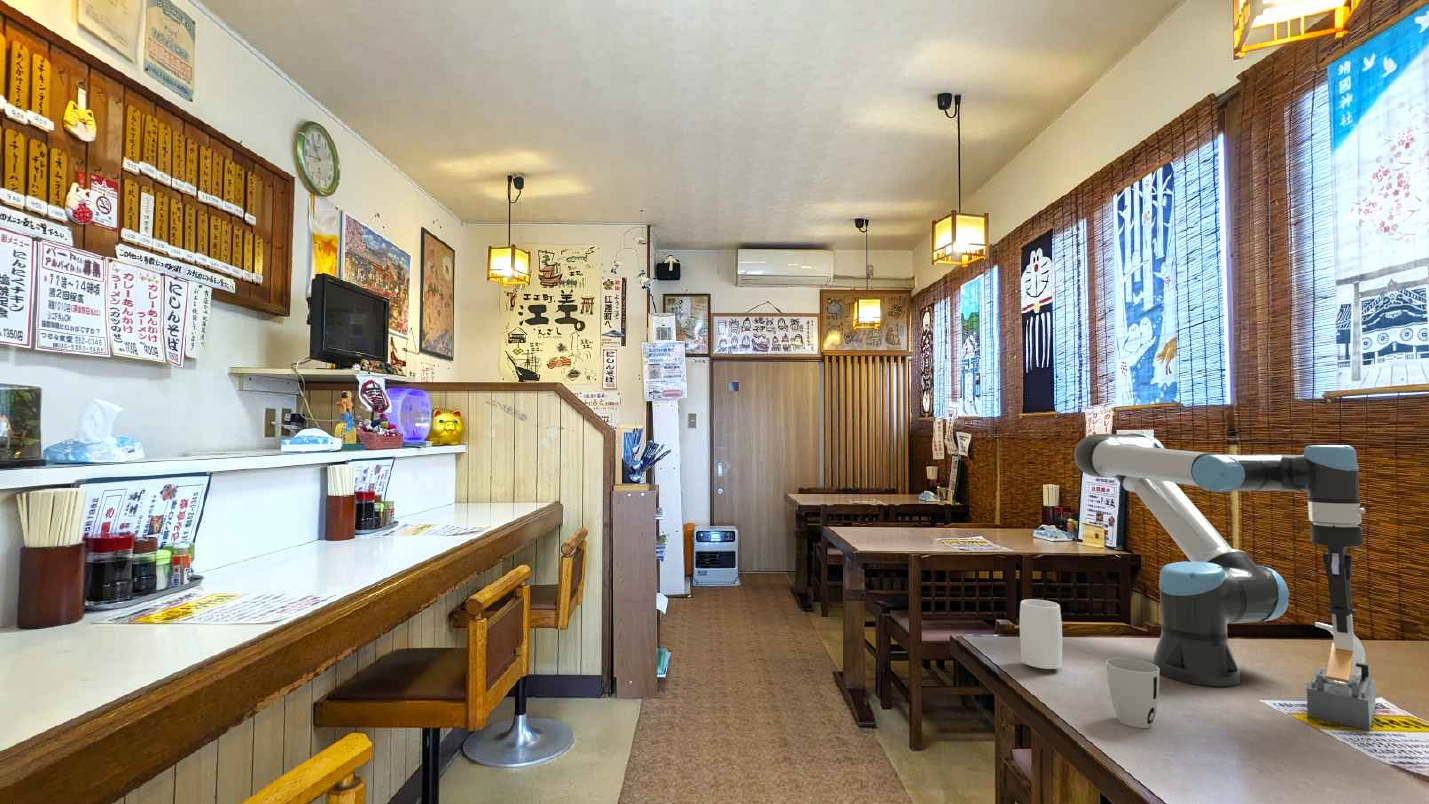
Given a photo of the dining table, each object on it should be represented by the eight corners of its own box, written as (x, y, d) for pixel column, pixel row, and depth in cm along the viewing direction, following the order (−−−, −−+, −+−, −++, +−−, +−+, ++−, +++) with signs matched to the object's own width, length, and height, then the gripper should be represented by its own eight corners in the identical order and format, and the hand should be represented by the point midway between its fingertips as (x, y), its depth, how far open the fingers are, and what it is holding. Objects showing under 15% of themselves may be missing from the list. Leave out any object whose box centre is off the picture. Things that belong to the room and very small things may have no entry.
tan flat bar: (1349, 685, 119) (1348, 680, 119) (1326, 680, 121) (1326, 675, 121) (1354, 651, 127) (1353, 646, 127) (1332, 647, 130) (1332, 642, 129)
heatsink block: (1369, 730, 114) (1367, 685, 115) (1308, 716, 120) (1305, 673, 121) (1375, 706, 125) (1373, 665, 126) (1318, 694, 131) (1316, 655, 132)
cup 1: (1053, 678, 140) (1051, 610, 141) (1014, 667, 146) (1012, 602, 147) (1069, 669, 145) (1067, 603, 146) (1030, 659, 152) (1029, 597, 153)
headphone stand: (1317, 680, 139) (1314, 622, 140) (1344, 679, 139) (1340, 621, 140) (1340, 688, 134) (1337, 628, 135) (1367, 687, 135) (1363, 627, 136)
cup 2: (1162, 735, 112) (1160, 675, 113) (1107, 725, 116) (1105, 667, 117) (1160, 719, 119) (1158, 662, 120) (1108, 709, 123) (1106, 654, 124)
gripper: (1359, 529, 121) (1369, 660, 119) (1364, 522, 130) (1374, 644, 128) (1304, 525, 126) (1313, 651, 125) (1313, 520, 136) (1322, 637, 134)
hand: (1344, 648), depth 127 cm, fingers closed
